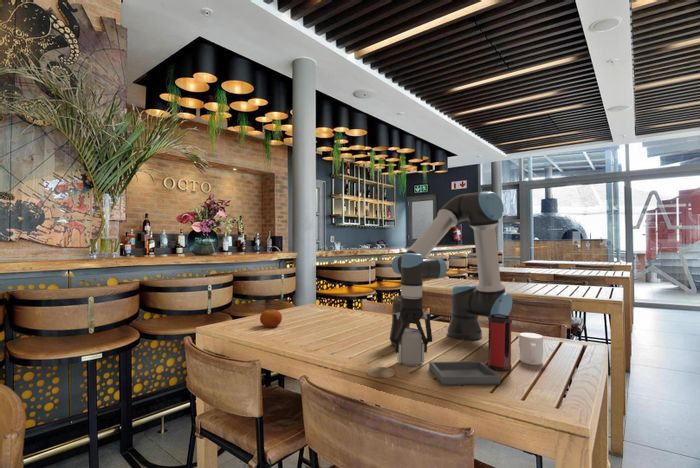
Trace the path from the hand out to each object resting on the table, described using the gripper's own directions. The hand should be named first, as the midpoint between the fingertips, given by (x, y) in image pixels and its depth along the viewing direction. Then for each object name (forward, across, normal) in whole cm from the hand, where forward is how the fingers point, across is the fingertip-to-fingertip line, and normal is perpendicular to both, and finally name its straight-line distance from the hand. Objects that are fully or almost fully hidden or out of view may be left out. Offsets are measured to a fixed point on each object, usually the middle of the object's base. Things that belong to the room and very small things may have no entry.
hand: (410, 361), depth 133 cm
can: (+1, 0, 0) cm, 1 cm away
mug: (+1, -45, -1) cm, 45 cm away
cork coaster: (+1, +12, +9) cm, 15 cm away
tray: (+1, -14, +13) cm, 19 cm away
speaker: (+1, -30, +5) cm, 30 cm away
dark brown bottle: (+1, -1, -22) cm, 22 cm away
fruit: (+1, +56, -55) cm, 78 cm away
